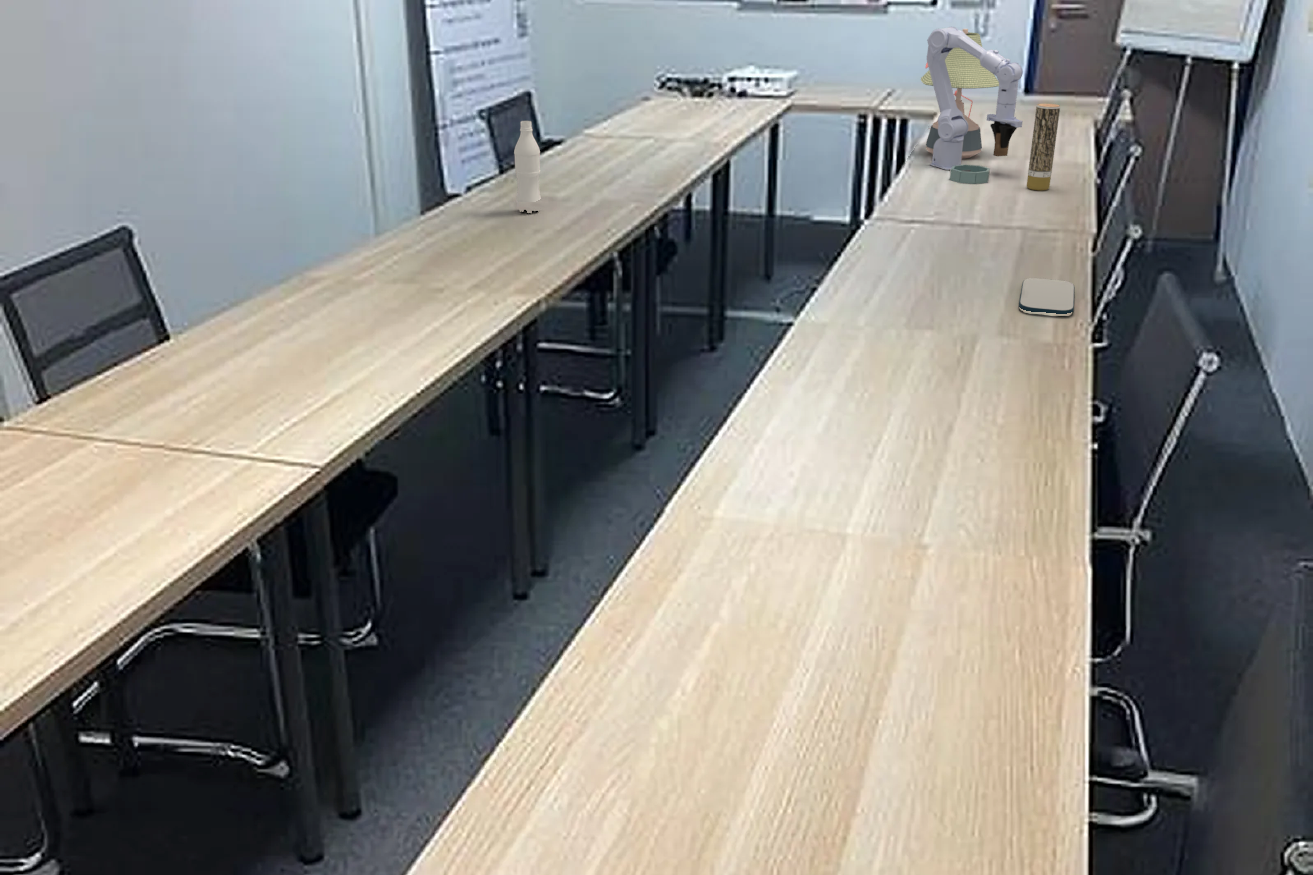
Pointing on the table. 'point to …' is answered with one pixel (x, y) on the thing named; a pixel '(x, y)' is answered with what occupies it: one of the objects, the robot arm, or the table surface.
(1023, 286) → the external hard drive
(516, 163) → the water bottle
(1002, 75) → the robot arm
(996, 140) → the wooden block
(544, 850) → the table surface
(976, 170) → the bowl
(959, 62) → the desk lamp
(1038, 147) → the bark patterned cylinder
